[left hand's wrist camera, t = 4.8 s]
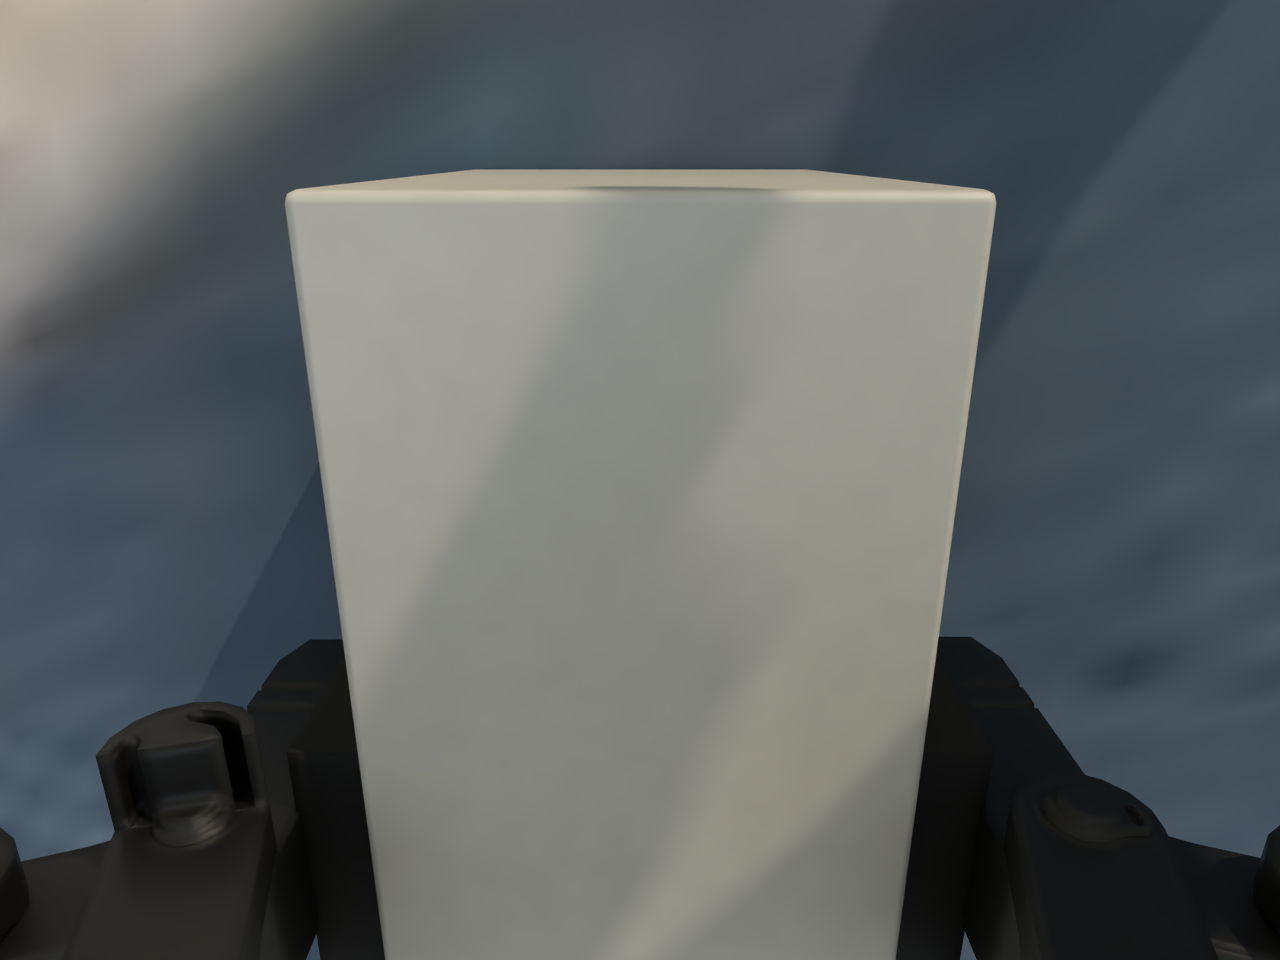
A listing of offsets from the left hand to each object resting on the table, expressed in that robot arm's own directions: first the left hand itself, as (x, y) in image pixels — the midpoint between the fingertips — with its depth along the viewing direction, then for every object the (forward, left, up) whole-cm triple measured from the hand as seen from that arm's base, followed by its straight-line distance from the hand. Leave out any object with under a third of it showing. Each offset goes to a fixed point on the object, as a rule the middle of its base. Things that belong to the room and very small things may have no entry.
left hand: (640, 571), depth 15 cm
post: (+6, +19, -1) cm, 20 cm away
